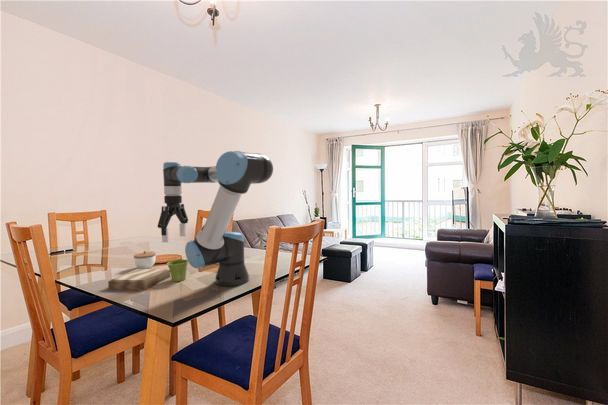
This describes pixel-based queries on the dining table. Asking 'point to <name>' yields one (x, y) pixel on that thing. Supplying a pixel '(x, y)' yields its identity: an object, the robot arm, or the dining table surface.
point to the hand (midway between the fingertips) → (174, 239)
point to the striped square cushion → (139, 279)
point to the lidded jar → (145, 259)
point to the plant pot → (178, 269)
